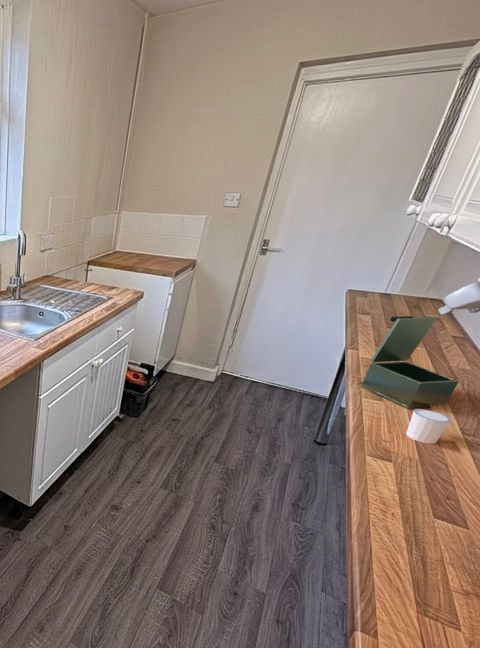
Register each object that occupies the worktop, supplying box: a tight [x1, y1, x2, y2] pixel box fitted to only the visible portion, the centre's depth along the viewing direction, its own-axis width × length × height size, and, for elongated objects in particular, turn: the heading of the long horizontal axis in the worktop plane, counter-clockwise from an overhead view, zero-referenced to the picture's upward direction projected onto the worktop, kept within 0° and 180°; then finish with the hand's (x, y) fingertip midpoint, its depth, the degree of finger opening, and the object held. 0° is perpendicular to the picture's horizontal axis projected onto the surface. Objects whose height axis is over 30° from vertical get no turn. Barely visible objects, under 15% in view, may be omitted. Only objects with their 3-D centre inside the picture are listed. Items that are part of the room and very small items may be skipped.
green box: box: [360, 361, 460, 410], centre depth 129 cm, size 15×13×9 cm
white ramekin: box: [405, 408, 452, 445], centre depth 108 cm, size 7×7×7 cm
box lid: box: [370, 315, 437, 363], centre depth 131 cm, size 15×13×5 cm
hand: (456, 311), depth 115 cm, fingers open, 8 cm apart
